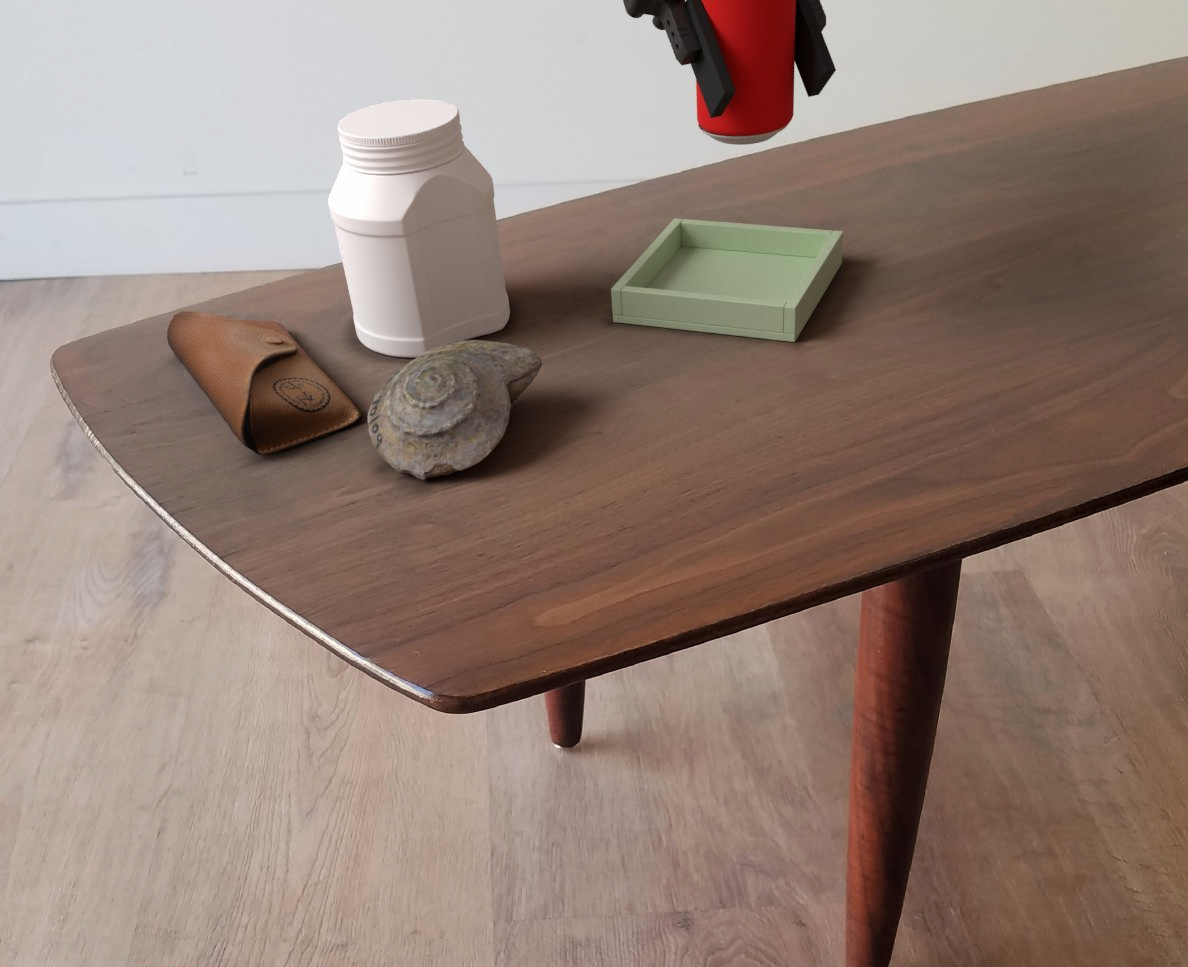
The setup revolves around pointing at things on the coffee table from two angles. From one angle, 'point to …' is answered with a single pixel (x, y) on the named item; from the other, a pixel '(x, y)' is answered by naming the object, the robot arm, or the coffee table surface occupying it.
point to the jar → (416, 229)
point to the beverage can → (753, 69)
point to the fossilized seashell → (449, 406)
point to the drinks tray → (729, 279)
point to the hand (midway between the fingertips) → (773, 93)
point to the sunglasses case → (259, 380)
